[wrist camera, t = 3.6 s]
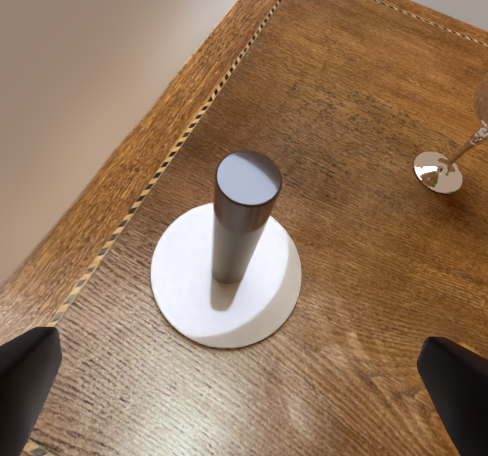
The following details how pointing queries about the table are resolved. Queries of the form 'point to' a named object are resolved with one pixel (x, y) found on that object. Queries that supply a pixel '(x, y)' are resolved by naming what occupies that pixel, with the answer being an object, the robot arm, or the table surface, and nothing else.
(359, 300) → the table surface
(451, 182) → the wineglass
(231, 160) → the pole on white disc
